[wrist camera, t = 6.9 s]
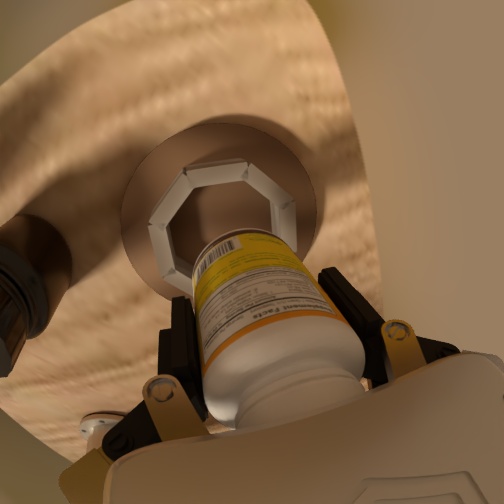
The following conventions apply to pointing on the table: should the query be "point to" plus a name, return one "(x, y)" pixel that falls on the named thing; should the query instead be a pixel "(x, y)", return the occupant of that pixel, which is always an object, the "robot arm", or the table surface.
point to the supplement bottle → (268, 333)
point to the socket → (211, 200)
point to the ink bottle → (29, 282)
